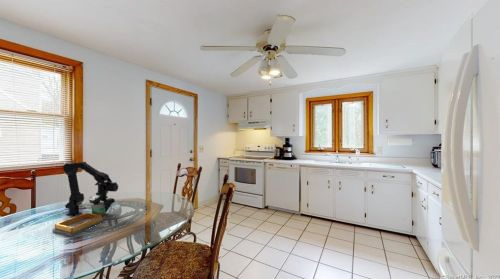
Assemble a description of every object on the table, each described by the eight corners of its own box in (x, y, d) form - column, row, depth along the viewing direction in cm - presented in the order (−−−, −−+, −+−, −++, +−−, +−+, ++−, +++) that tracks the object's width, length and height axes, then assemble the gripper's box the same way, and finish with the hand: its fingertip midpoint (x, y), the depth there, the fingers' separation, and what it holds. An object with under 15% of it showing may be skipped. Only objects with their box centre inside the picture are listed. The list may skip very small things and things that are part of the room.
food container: (97, 219, 145) (97, 206, 145) (90, 218, 146) (90, 205, 146) (111, 213, 157) (112, 200, 157) (105, 211, 158) (106, 199, 158)
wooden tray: (52, 232, 125) (52, 224, 125) (87, 218, 145) (87, 211, 145) (71, 237, 121) (71, 229, 121) (104, 222, 141) (104, 215, 141)
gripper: (81, 191, 145) (81, 212, 146) (101, 195, 141) (100, 217, 141) (97, 188, 156) (96, 207, 157) (115, 191, 152) (114, 211, 152)
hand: (101, 210), depth 152 cm, fingers open, 9 cm apart
